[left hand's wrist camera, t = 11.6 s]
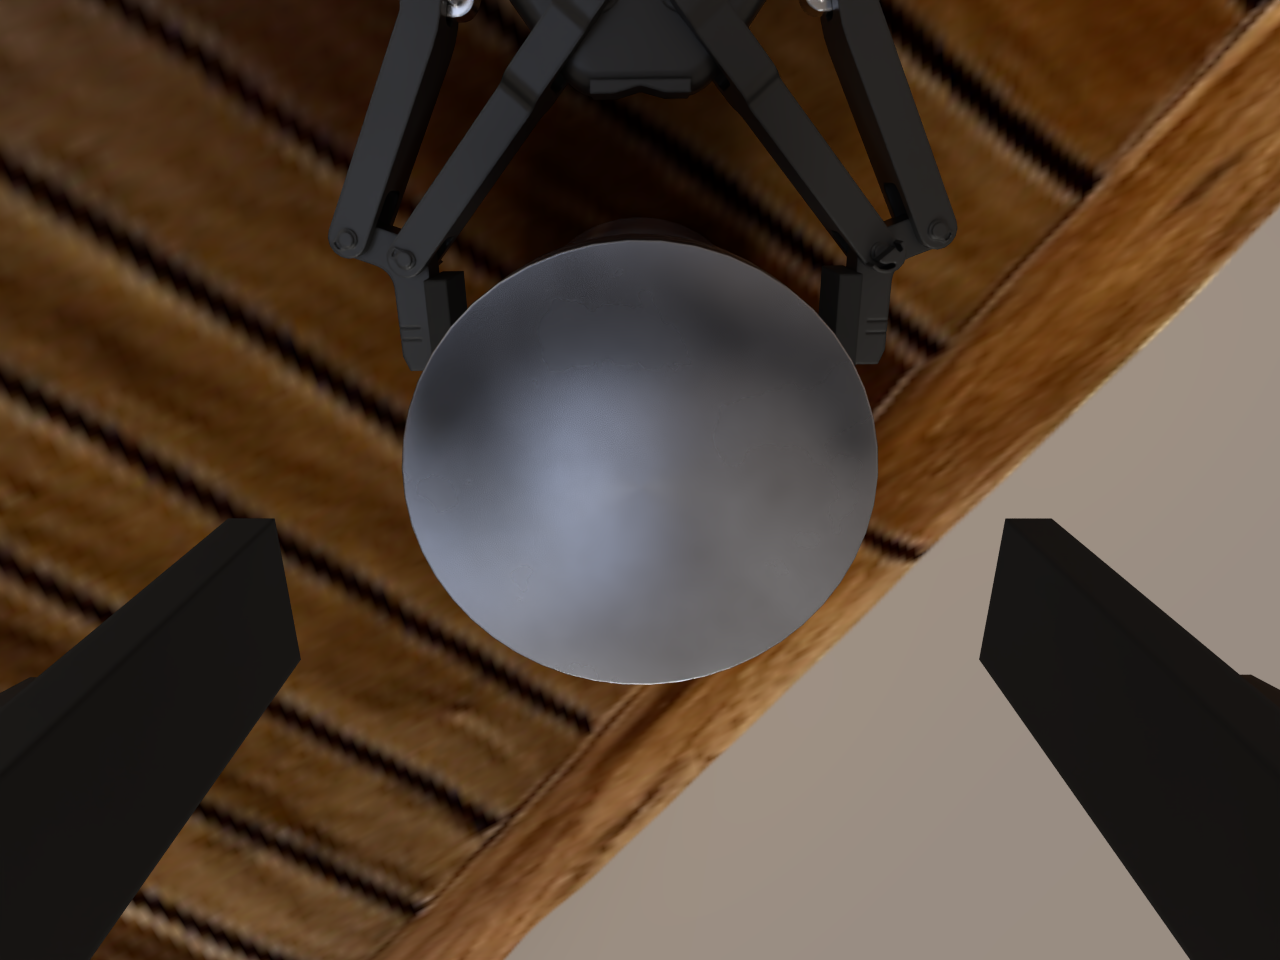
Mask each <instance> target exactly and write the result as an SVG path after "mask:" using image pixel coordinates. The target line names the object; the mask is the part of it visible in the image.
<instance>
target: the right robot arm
mask: <svg viewBox="0 0 1280 960" xmlns="http://www.w3.org/2000/svg"><path fill="white" fill-rule="evenodd" d="M765 1H766V0H510V2H511V3H512V5H513V6H514V7H515V9H516V10H517V12H518V13H519V15H520V16H521V17H522V19H523V20H524V22H525V23H526V25H527V26H528V27H529V29H530V30H531V33H530V34H529V36H528V37H527V39H526V40H525V42H524V43H523V45H522V46H521V48H520V49H519V51H518V52H517V53H516V55H515V56H514V58H513V59H512V61H511V62H510V64H509V65H508V67H507V69H506V70H505V72H504V74H503V77H502V80H501V82H500V84H499V86H498V88H497V89H496V91H495V92H494V94H493V95H492V96H491V98H490V99H489V101H488V102H487V104H486V105H485V107H484V108H483V110H482V111H481V113H480V114H479V116H478V117H477V119H476V120H475V122H474V123H473V124H472V126H471V127H470V129H469V130H468V132H467V133H466V135H465V136H464V138H463V139H462V141H461V142H460V144H459V145H458V147H457V148H456V150H455V151H454V152H453V154H452V155H451V157H450V158H449V160H448V161H447V163H446V164H445V166H444V167H443V169H442V170H441V172H440V173H439V175H438V176H437V178H436V179H435V181H434V182H433V183H432V185H431V186H430V188H429V189H428V191H427V192H426V194H425V195H424V197H423V198H422V200H421V201H420V203H419V204H418V206H417V207H416V209H415V210H414V211H413V213H412V214H411V216H410V217H409V219H408V220H407V222H406V223H405V225H404V226H403V228H402V229H400V228H397V227H394V226H393V223H394V221H395V218H396V215H397V212H398V209H399V206H400V203H401V200H402V198H403V195H404V192H405V189H406V186H407V183H408V180H409V178H410V175H411V172H412V169H413V166H414V163H415V160H416V157H417V155H418V152H419V149H420V146H421V143H422V140H423V137H424V134H425V132H426V129H427V126H428V123H429V120H430V117H431V114H432V111H433V109H434V106H435V103H436V100H437V97H438V94H439V91H440V88H441V86H442V83H443V80H444V77H445V74H446V71H447V68H448V66H449V63H450V60H451V57H452V53H453V50H454V46H455V42H456V36H457V31H458V22H459V23H462V22H468V21H470V20H472V19H473V18H474V17H475V16H476V14H477V12H478V10H479V6H480V2H481V0H400V11H399V14H398V17H397V20H396V23H395V26H394V29H393V32H392V36H391V39H390V42H389V45H388V48H387V51H386V54H385V57H384V61H383V64H382V67H381V70H380V73H379V76H378V79H377V82H376V85H375V89H374V92H373V95H372V98H371V101H370V104H369V107H368V110H367V114H366V117H365V120H364V123H363V126H362V129H361V132H360V135H359V138H358V142H357V145H356V148H355V151H354V154H353V157H352V160H351V163H350V167H349V170H348V173H347V176H346V179H345V182H344V185H343V188H342V192H341V195H340V198H339V201H338V204H337V207H336V210H335V213H334V216H333V220H332V223H331V226H330V229H329V234H328V240H329V243H330V246H331V248H332V249H333V250H334V252H335V253H337V254H338V255H339V256H341V257H344V258H348V259H349V258H356V259H359V260H361V261H364V262H367V263H370V264H373V265H376V266H378V267H380V268H382V269H383V270H385V271H386V272H387V273H388V274H389V276H390V277H391V279H392V281H393V283H394V287H395V294H396V302H397V310H398V318H399V326H400V334H401V339H402V341H401V342H402V350H403V357H404V359H405V361H406V363H407V364H408V366H409V368H410V370H411V371H423V370H424V368H425V366H426V364H427V362H428V360H429V358H430V356H431V354H432V353H433V351H434V350H435V348H436V347H437V345H438V344H439V343H440V341H441V340H442V338H443V337H444V335H445V334H446V333H447V331H448V330H449V328H450V327H451V326H452V325H453V324H454V323H455V322H456V321H457V319H458V318H459V317H460V316H461V315H462V314H463V313H464V312H465V311H466V310H467V302H466V291H465V281H464V271H443V272H441V273H439V265H440V264H441V263H442V262H443V261H442V260H441V259H442V257H443V256H444V255H445V253H446V252H447V250H448V249H449V248H450V246H451V245H452V243H453V242H454V240H455V239H456V238H457V236H458V235H459V233H460V232H461V231H462V229H463V228H464V226H465V225H466V223H467V222H468V221H469V219H470V218H471V216H472V215H473V214H474V212H475V211H476V209H477V208H478V206H479V205H480V204H481V202H482V201H483V199H484V198H485V196H486V195H487V194H488V192H489V191H490V189H491V188H492V187H493V185H494V184H495V182H496V181H497V179H498V178H499V177H500V175H501V174H502V172H503V171H504V170H505V168H506V167H507V165H508V164H509V162H510V161H511V160H512V158H513V157H514V155H515V154H516V153H517V151H518V150H519V148H520V147H521V145H522V144H523V143H524V141H525V140H526V138H527V137H528V136H529V134H530V133H531V131H532V130H533V128H534V127H535V126H536V124H537V123H538V121H539V120H540V119H541V117H542V116H543V115H544V114H545V113H546V112H547V111H548V110H549V109H550V108H551V106H552V105H553V104H554V102H555V101H556V99H557V98H558V97H559V95H560V94H561V92H562V91H563V89H564V88H565V87H566V85H567V84H568V83H569V84H570V85H571V86H572V87H573V88H574V89H575V90H577V91H579V92H580V93H582V94H584V95H587V96H590V97H592V98H593V100H615V99H620V98H623V97H626V96H629V95H632V94H635V93H639V92H642V93H646V94H649V95H653V96H657V97H660V98H664V99H676V98H688V96H689V95H692V94H695V93H697V92H699V91H701V90H702V89H703V88H705V87H706V86H707V85H708V84H710V83H711V81H713V82H714V84H715V85H716V86H717V88H718V89H719V90H720V92H721V93H722V94H723V96H724V97H725V98H726V100H727V101H728V102H729V103H730V105H731V106H732V107H733V108H734V109H735V110H736V111H737V112H738V113H739V114H740V115H741V116H742V117H743V119H744V120H745V121H746V123H747V124H748V125H749V127H750V128H751V129H752V131H753V132H754V133H755V135H756V136H757V137H758V139H759V140H760V141H761V143H762V144H763V145H764V147H765V148H766V149H767V151H768V152H769V153H770V155H771V156H772V157H773V159H774V160H775V161H776V163H777V164H778V166H779V167H780V168H781V170H782V171H783V172H784V174H785V175H786V176H787V178H788V179H789V180H790V182H791V183H792V184H793V186H794V187H795V188H796V190H797V191H798V192H799V194H800V195H801V196H802V198H803V199H804V200H805V202H806V203H807V204H808V206H809V207H810V208H811V210H812V211H813V212H814V214H815V215H816V216H817V218H818V219H819V220H820V222H821V223H822V224H823V226H824V227H825V228H826V230H827V231H828V232H829V234H830V235H831V236H832V238H833V239H834V240H835V242H836V243H837V244H838V246H839V247H840V248H841V250H842V251H843V252H844V254H845V255H846V256H847V263H846V267H845V266H843V265H837V266H822V274H821V289H820V303H819V316H820V317H821V318H822V320H823V321H824V322H825V323H826V324H827V325H828V326H829V328H830V329H831V330H832V331H833V332H834V333H835V335H836V336H837V338H838V339H839V341H840V342H841V344H842V346H843V347H844V349H845V350H846V352H847V353H848V355H849V356H850V358H851V359H852V361H853V364H854V366H855V364H878V362H879V360H880V358H881V356H882V354H883V352H884V350H885V341H886V331H887V319H888V311H889V301H890V291H891V281H892V276H893V273H894V271H896V270H898V269H899V268H900V267H901V266H902V264H903V263H904V261H905V259H907V258H909V257H912V256H915V255H917V254H920V253H922V252H925V251H928V250H930V249H941V248H944V247H946V246H947V245H949V244H950V243H951V242H952V240H953V239H954V237H955V236H956V232H957V222H956V219H955V216H954V213H953V210H952V207H951V204H950V202H949V199H948V196H947V193H946V190H945V187H944V185H943V182H942V179H941V176H940V173H939V170H938V168H937V165H936V162H935V159H934V156H933V153H932V150H931V148H930V145H929V142H928V139H927V136H926V133H925V131H924V128H923V125H922V122H921V119H920V116H919V114H918V111H917V108H916V105H915V102H914V99H913V96H912V94H911V91H910V88H909V85H908V82H907V79H906V77H905V74H904V71H903V68H902V65H901V62H900V60H899V57H898V54H897V51H896V48H895V45H894V42H893V40H892V37H891V34H890V31H889V28H888V25H887V23H886V20H885V17H884V14H883V11H882V8H881V6H880V3H879V0H799V3H800V6H801V8H802V9H803V11H804V12H805V13H807V14H808V15H810V16H813V17H821V24H822V29H823V34H824V39H825V42H826V45H827V48H828V51H829V54H830V57H831V59H832V62H833V64H834V67H835V70H836V72H837V75H838V78H839V80H840V83H841V86H842V88H843V91H844V93H845V96H846V99H847V101H848V104H849V107H850V109H851V112H852V114H853V117H854V120H855V122H856V125H857V128H858V130H859V133H860V136H861V138H862V141H863V143H864V146H865V149H866V151H867V154H868V157H869V159H870V162H871V165H872V167H873V170H874V172H875V175H876V178H877V180H878V183H879V186H880V188H881V191H882V193H883V196H884V199H885V201H886V204H887V207H888V209H889V212H890V215H891V217H892V218H891V219H888V220H886V221H883V220H882V219H881V217H880V216H879V215H878V213H877V212H876V211H875V209H874V208H873V206H872V205H871V204H870V202H869V201H868V199H867V198H866V197H865V195H864V194H863V193H862V191H861V190H860V188H859V187H858V186H857V184H856V183H855V181H854V180H853V179H852V177H851V176H850V175H849V173H848V172H847V170H846V169H845V168H844V166H843V165H842V163H841V162H840V161H839V159H838V158H837V157H836V155H835V154H834V152H833V151H832V150H831V148H830V147H829V145H828V144H827V143H826V141H825V140H824V139H823V137H822V136H821V134H820V133H819V132H818V130H817V129H816V127H815V126H814V125H813V123H812V122H811V120H810V119H809V118H808V116H807V115H806V114H805V112H804V111H803V109H802V108H801V107H800V105H799V104H798V102H797V101H796V100H795V98H794V97H793V96H792V94H791V93H790V91H789V90H788V89H787V87H786V86H785V84H784V83H783V82H782V80H781V78H780V76H779V73H778V71H777V69H776V67H775V65H774V64H773V62H772V61H771V59H770V58H769V56H768V55H767V54H766V52H765V51H764V49H763V48H762V47H761V45H760V44H759V42H758V41H757V40H756V38H755V37H754V35H753V34H752V33H751V31H750V30H749V29H748V27H749V26H750V24H751V23H752V21H753V19H754V18H755V16H756V15H757V13H758V12H759V10H760V9H761V7H762V6H763V4H764V3H765Z"/></svg>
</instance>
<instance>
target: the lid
mask: <svg viewBox="0 0 1280 960" xmlns="http://www.w3.org/2000/svg"><path fill="white" fill-rule="evenodd" d="M402 474H403V484H404V494H405V500H406V504H407V508H408V512H409V517H410V521H411V525H412V527H413V530H414V533H415V535H416V538H417V540H418V543H419V545H420V548H421V550H422V553H423V554H424V556H425V558H426V560H427V562H428V564H429V565H430V567H431V569H432V571H433V573H434V574H435V576H436V578H437V579H438V580H439V582H440V583H441V584H442V586H443V587H444V589H445V590H446V591H447V593H448V594H449V595H450V597H451V598H452V599H453V600H454V602H455V603H456V604H457V605H458V606H459V607H460V608H461V609H462V610H463V611H464V612H465V613H466V614H467V615H468V616H469V617H470V618H471V619H472V620H473V621H474V622H475V623H476V624H478V625H479V626H480V627H481V628H482V629H484V630H485V631H486V632H487V633H488V634H490V635H491V636H492V637H493V638H495V639H496V640H498V641H499V642H501V643H503V644H504V645H506V646H507V647H509V648H510V649H512V650H513V651H515V652H516V653H518V654H520V655H522V656H525V657H527V658H529V659H531V660H533V661H535V662H537V663H539V664H541V665H543V666H546V667H549V668H552V669H554V670H557V671H560V672H563V673H565V674H568V675H573V676H577V677H581V678H585V679H589V680H594V681H601V682H609V683H617V684H642V685H652V684H662V683H672V682H680V681H685V680H690V679H695V678H699V677H704V676H708V675H711V674H714V673H717V672H720V671H723V670H726V669H729V668H732V667H734V666H736V665H739V664H741V663H743V662H745V661H747V660H750V659H752V658H754V657H756V656H758V655H760V654H761V653H763V652H765V651H766V650H768V649H770V648H771V647H773V646H775V645H776V644H778V643H780V642H781V641H782V640H784V639H785V638H786V637H788V636H789V635H790V634H791V633H793V632H794V631H795V630H797V629H798V628H799V627H800V626H802V625H803V624H804V623H805V622H806V621H807V620H808V619H809V618H810V617H811V616H812V615H813V614H814V613H815V612H816V611H817V610H818V609H819V608H820V607H821V606H822V605H823V604H824V603H825V601H826V600H827V599H828V598H829V596H830V595H831V594H832V593H833V591H834V590H835V589H836V587H837V586H838V585H839V584H840V582H841V581H842V579H843V577H844V576H845V574H846V572H847V571H848V569H849V567H850V566H851V564H852V562H853V560H854V559H855V557H856V554H857V552H858V550H859V547H860V545H861V543H862V540H863V538H864V536H865V533H866V531H867V527H868V523H869V520H870V516H871V513H872V509H873V506H874V500H875V492H876V485H877V478H878V445H877V438H876V432H875V425H874V418H873V414H872V411H871V407H870V404H869V401H868V397H867V394H866V391H865V387H864V385H863V383H862V381H861V379H860V377H859V374H858V372H857V370H856V368H855V366H854V364H853V361H852V359H851V358H850V356H849V355H848V353H847V352H846V350H845V349H844V347H843V346H842V344H841V342H840V341H839V339H838V338H837V336H836V335H835V333H834V332H833V331H832V330H831V329H830V328H829V326H828V325H827V324H826V323H825V322H824V321H823V320H822V318H821V317H820V316H819V315H818V314H817V313H816V312H815V310H814V309H813V308H812V307H810V306H809V305H808V304H807V303H806V302H805V301H803V300H802V299H801V298H800V297H799V296H798V295H796V294H795V293H794V292H793V291H792V290H791V289H789V288H788V287H787V286H785V285H784V284H783V283H782V282H780V281H779V280H777V279H776V278H775V277H773V276H772V275H770V274H769V273H767V272H766V271H764V270H762V269H761V268H759V267H758V266H756V265H755V264H753V263H751V262H750V261H748V260H746V259H744V258H742V257H739V256H737V255H735V254H733V253H731V252H729V251H726V250H724V249H722V248H719V247H716V246H713V245H710V244H706V243H703V242H700V241H696V240H693V239H688V238H682V237H676V236H669V235H663V234H629V233H628V234H620V235H612V236H603V237H596V238H592V239H588V240H585V241H581V242H577V243H573V244H569V245H566V246H564V247H561V248H559V249H556V250H554V251H552V252H549V253H547V254H544V255H542V256H540V257H538V258H536V259H534V260H533V261H531V262H529V263H527V264H526V265H524V266H522V267H521V268H519V269H517V270H516V271H514V272H512V273H511V274H509V275H508V276H507V277H505V278H504V279H503V280H502V281H500V282H499V283H498V284H496V285H495V286H494V287H493V288H491V289H490V290H489V291H488V292H486V293H485V294H484V295H483V296H481V297H480V298H479V299H477V300H476V301H475V302H474V303H473V304H472V305H471V306H470V307H469V308H468V309H467V310H466V311H465V312H464V313H463V314H462V315H461V316H460V317H459V318H458V319H457V321H456V322H455V323H454V324H453V325H452V326H451V327H450V328H449V330H448V331H447V333H446V334H445V335H444V337H443V338H442V340H441V341H440V343H439V344H438V345H437V347H436V348H435V350H434V351H433V353H432V354H431V356H430V358H429V360H428V362H427V364H426V366H425V368H424V370H423V372H422V374H421V376H420V378H419V380H418V383H417V386H416V389H415V392H414V395H413V398H412V400H411V403H410V406H409V409H408V415H407V420H406V426H405V431H404V436H403V453H402Z"/></svg>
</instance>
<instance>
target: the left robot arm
mask: <svg viewBox="0 0 1280 960" xmlns="http://www.w3.org/2000/svg"><path fill="white" fill-rule="evenodd" d="M300 660H301V658H300V653H299V647H298V642H297V637H296V631H295V626H294V620H293V615H292V610H291V604H290V599H289V594H288V588H287V583H286V577H285V572H284V567H283V561H282V556H281V551H280V545H279V540H278V534H277V529H276V524H275V519H227V520H226V521H225V522H224V523H222V524H221V525H220V526H219V527H218V528H216V529H215V530H214V531H213V532H212V533H210V534H209V535H208V536H207V537H206V538H204V539H203V540H202V541H201V542H200V543H198V544H197V545H196V546H195V547H194V548H192V549H191V550H190V551H189V552H188V553H186V554H185V555H184V556H183V557H182V558H180V559H179V560H178V561H177V562H176V563H174V564H173V565H172V566H171V567H170V568H168V569H167V570H166V571H165V572H163V573H162V574H161V575H160V576H159V577H157V578H156V579H155V580H154V581H153V582H151V583H150V584H149V585H148V586H147V587H145V588H144V589H143V590H142V591H141V592H139V593H138V594H137V595H136V596H135V597H133V598H132V599H131V600H130V601H129V602H127V603H126V604H125V605H124V606H123V607H121V608H120V609H119V610H118V611H117V612H115V613H114V614H113V615H112V616H111V617H109V618H108V619H107V620H106V621H105V622H103V623H102V624H101V625H100V626H98V627H97V628H96V629H95V630H94V631H92V632H91V633H90V634H89V635H88V636H86V637H85V638H84V639H83V640H82V641H80V642H79V643H78V644H77V645H76V646H74V647H73V648H72V649H71V650H70V651H68V652H67V653H66V654H65V655H64V656H62V657H61V658H60V659H59V660H58V661H56V662H55V663H54V664H53V665H52V666H50V667H49V668H48V669H47V670H46V671H44V672H43V673H42V674H41V675H39V676H38V677H30V678H28V679H26V680H24V681H22V682H20V683H18V684H17V685H15V686H13V687H11V688H9V689H7V690H5V691H3V692H1V693H0V960H90V959H91V957H92V956H93V954H94V953H95V952H96V950H97V949H98V947H99V946H100V944H101V943H102V942H103V940H104V939H105V937H106V936H107V935H108V933H109V932H110V930H111V929H112V927H113V926H114V925H115V923H116V922H117V920H118V919H119V917H120V916H121V915H122V913H123V912H124V910H125V909H126V907H127V906H128V905H129V903H130V902H131V900H132V899H133V898H134V896H135V895H136V893H137V892H138V890H139V889H140V888H141V886H142V885H143V883H144V882H145V880H146V879H147V878H148V876H149V875H150V873H151V872H152V870H153V869H154V868H155V866H156V865H157V863H158V862H159V861H160V859H161V858H162V856H163V855H164V853H165V852H166V851H167V849H168V848H169V846H170V845H171V843H172V842H173V841H174V839H175V838H176V836H177V835H178V833H179V832H180V831H181V829H182V828H183V826H184V825H185V824H186V822H187V821H188V819H189V818H190V816H191V815H192V814H193V812H194V811H195V809H196V808H197V806H198V805H199V804H200V802H201V801H202V799H203V798H204V796H205V795H206V794H207V792H208V791H209V789H210V788H211V787H212V785H213V784H214V782H215V781H216V779H217V778H218V777H219V775H220V774H221V772H222V771H223V769H224V768H225V767H226V765H227V764H228V762H229V761H230V759H231V758H232V757H233V755H234V754H235V752H236V751H237V749H238V748H239V747H240V745H241V744H242V742H243V741H244V740H245V738H246V737H247V735H248V734H249V732H250V731H251V730H252V728H253V727H254V725H255V724H256V722H257V721H258V720H259V718H260V717H261V715H262V714H263V712H264V711H265V710H266V708H267V707H268V705H269V704H270V703H271V701H272V700H273V698H274V697H275V695H276V694H277V693H278V691H279V690H280V688H281V687H282V685H283V684H284V683H285V681H286V680H287V678H288V677H289V675H290V674H291V673H292V671H293V670H294V668H295V667H296V666H297V664H298V663H299V661H300ZM979 660H980V661H981V663H982V664H983V665H984V667H985V668H986V670H987V671H988V673H989V674H990V675H991V677H992V678H993V680H994V681H995V683H996V684H997V685H998V687H999V688H1000V690H1001V691H1002V693H1003V694H1004V695H1005V697H1006V698H1007V700H1008V701H1009V703H1010V704H1011V705H1012V707H1013V708H1014V710H1015V711H1016V712H1017V714H1018V715H1019V717H1020V718H1021V720H1022V721H1023V722H1024V724H1025V725H1026V727H1027V728H1028V730H1029V731H1030V732H1031V734H1032V735H1033V737H1034V738H1035V740H1036V741H1037V742H1038V744H1039V745H1040V747H1041V748H1042V749H1043V751H1044V752H1045V754H1046V755H1047V757H1048V758H1049V759H1050V761H1051V762H1052V764H1053V765H1054V767H1055V768H1056V769H1057V771H1058V772H1059V774H1060V775H1061V777H1062V778H1063V779H1064V781H1065V782H1066V784H1067V785H1068V786H1069V788H1070V789H1071V791H1072V792H1073V794H1074V795H1075V796H1076V798H1077V799H1078V801H1079V802H1080V804H1081V805H1082V806H1083V808H1084V809H1085V811H1086V812H1087V813H1088V815H1089V816H1090V818H1091V819H1092V821H1093V822H1094V824H1095V825H1096V826H1097V828H1098V829H1099V831H1100V832H1101V833H1102V835H1103V836H1104V838H1105V839H1106V841H1107V842H1108V843H1109V845H1110V846H1111V848H1112V849H1113V851H1114V852H1115V853H1116V855H1117V856H1118V858H1119V859H1120V860H1121V862H1122V863H1123V865H1124V866H1125V868H1126V869H1127V870H1128V872H1129V873H1130V875H1131V876H1132V878H1133V879H1134V880H1135V882H1136V883H1137V885H1138V886H1139V887H1140V889H1141V890H1142V892H1143V893H1144V895H1145V896H1146V898H1147V899H1148V900H1149V902H1150V903H1151V905H1152V906H1153V907H1154V909H1155V910H1156V912H1157V913H1158V915H1159V916H1160V917H1161V919H1162V920H1163V922H1164V923H1165V924H1166V926H1167V927H1168V929H1169V930H1170V932H1171V933H1172V935H1173V936H1174V937H1175V939H1176V940H1177V942H1178V943H1179V944H1180V946H1181V947H1182V949H1183V950H1184V952H1185V953H1186V954H1187V956H1188V957H1189V959H1190V960H1280V690H1279V689H1277V688H1275V687H1273V686H1271V685H1270V684H1268V683H1266V682H1264V681H1262V680H1260V679H1258V678H1256V677H1254V676H1252V675H1239V674H1238V673H1237V672H1236V671H1234V670H1233V669H1232V668H1231V667H1230V666H1228V665H1227V664H1226V663H1225V662H1224V661H1222V660H1221V659H1220V658H1219V657H1218V656H1216V655H1215V654H1214V653H1213V652H1212V651H1210V650H1209V649H1208V648H1207V647H1206V646H1204V645H1203V644H1202V643H1201V642H1200V641H1198V640H1197V639H1196V638H1195V637H1194V636H1192V635H1191V634H1190V633H1189V632H1188V631H1186V630H1185V629H1184V628H1183V627H1182V626H1180V625H1179V624H1178V623H1177V622H1175V621H1174V620H1173V619H1172V618H1171V617H1169V616H1168V615H1167V614H1166V613H1165V612H1163V611H1162V610H1161V609H1160V608H1159V607H1157V606H1156V605H1155V604H1154V603H1153V602H1151V601H1150V600H1149V599H1148V598H1146V597H1145V596H1144V595H1143V594H1142V593H1141V592H1139V591H1138V590H1137V589H1136V588H1135V587H1133V586H1132V585H1131V584H1130V583H1129V582H1127V581H1126V580H1125V579H1124V578H1122V577H1121V576H1120V575H1119V574H1118V573H1116V572H1115V571H1114V570H1113V569H1112V568H1110V567H1109V566H1108V565H1107V564H1106V563H1104V562H1103V561H1102V560H1101V559H1100V558H1098V557H1097V556H1096V555H1095V554H1094V553H1092V552H1091V551H1090V550H1089V549H1088V548H1086V547H1085V546H1084V545H1083V544H1082V543H1080V542H1079V541H1078V540H1077V539H1076V538H1074V537H1073V536H1072V535H1071V534H1070V533H1068V532H1067V531H1066V530H1065V529H1064V528H1062V527H1061V526H1060V525H1059V524H1057V523H1056V522H1055V521H1054V520H1053V519H1005V524H1004V529H1003V535H1002V540H1001V545H1000V551H999V556H998V561H997V567H996V572H995V577H994V583H993V588H992V594H991V599H990V604H989V610H988V615H987V620H986V626H985V631H984V637H983V642H982V648H981V653H980V658H979Z"/></svg>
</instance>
